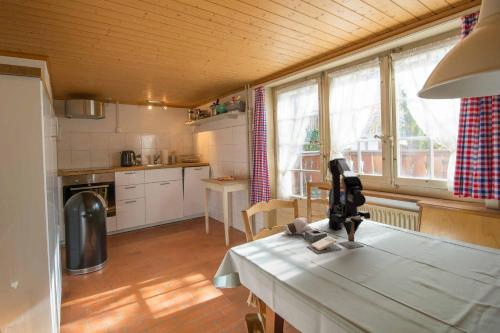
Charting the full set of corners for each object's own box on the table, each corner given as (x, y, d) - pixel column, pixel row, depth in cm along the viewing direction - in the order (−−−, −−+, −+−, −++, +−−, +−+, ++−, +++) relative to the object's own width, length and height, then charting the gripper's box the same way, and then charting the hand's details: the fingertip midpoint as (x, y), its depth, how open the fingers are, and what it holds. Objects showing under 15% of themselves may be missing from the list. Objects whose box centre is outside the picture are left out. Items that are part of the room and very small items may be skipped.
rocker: (328, 237, 125) (328, 235, 124) (336, 241, 119) (336, 239, 119) (311, 246, 121) (311, 243, 121) (319, 250, 116) (318, 248, 116)
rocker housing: (329, 243, 127) (329, 239, 127) (341, 249, 118) (341, 245, 118) (306, 247, 122) (306, 243, 122) (318, 254, 114) (317, 250, 114)
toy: (288, 245, 136) (315, 238, 137) (286, 233, 132) (313, 225, 133) (281, 230, 148) (306, 223, 149) (279, 218, 144) (304, 210, 145)
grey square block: (317, 236, 137) (317, 229, 136) (327, 241, 129) (327, 233, 129) (304, 238, 134) (304, 231, 134) (313, 243, 126) (313, 235, 126)
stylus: (351, 239, 125) (351, 221, 124) (355, 241, 122) (355, 222, 122) (346, 240, 124) (346, 221, 123) (350, 242, 121) (350, 223, 121)
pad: (351, 241, 128) (351, 240, 128) (364, 246, 121) (364, 245, 121) (338, 243, 126) (338, 242, 126) (350, 249, 118) (350, 248, 118)
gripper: (354, 197, 133) (354, 226, 134) (323, 200, 126) (324, 231, 127) (371, 201, 122) (371, 233, 123) (339, 205, 116) (339, 238, 117)
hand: (351, 234), depth 123 cm, fingers closed on stylus, 3 cm apart
